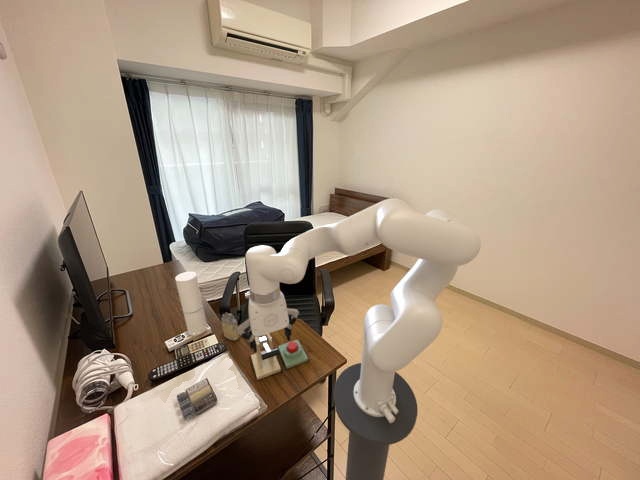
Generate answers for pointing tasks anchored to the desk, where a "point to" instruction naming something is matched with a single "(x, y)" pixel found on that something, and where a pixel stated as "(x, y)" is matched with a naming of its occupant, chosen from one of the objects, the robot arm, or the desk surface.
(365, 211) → the robot arm
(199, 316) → the cylindrical container
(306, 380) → the desk surface
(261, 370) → the cream lever stand
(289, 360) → the control box
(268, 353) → the lever
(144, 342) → the desk surface
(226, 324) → the yellow grey jar
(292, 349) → the button
